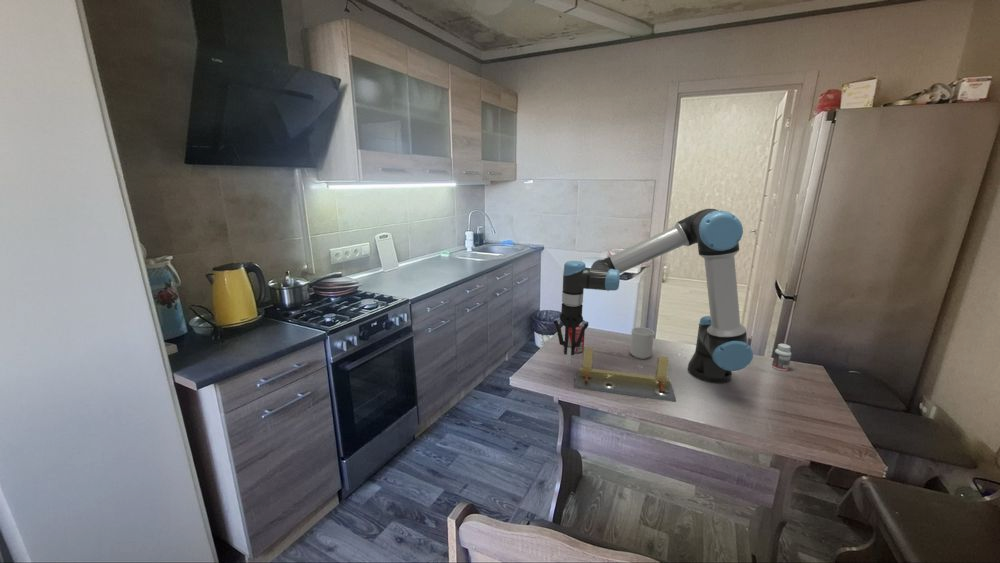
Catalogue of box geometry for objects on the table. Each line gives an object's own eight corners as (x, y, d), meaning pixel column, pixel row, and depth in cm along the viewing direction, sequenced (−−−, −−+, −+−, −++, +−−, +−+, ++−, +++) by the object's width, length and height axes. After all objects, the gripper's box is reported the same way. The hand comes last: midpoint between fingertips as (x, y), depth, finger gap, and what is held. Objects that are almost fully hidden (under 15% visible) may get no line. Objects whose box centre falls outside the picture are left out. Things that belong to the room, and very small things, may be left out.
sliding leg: (591, 372, 149) (593, 347, 146) (590, 382, 141) (592, 356, 138) (582, 371, 149) (584, 346, 147) (581, 381, 142) (583, 355, 139)
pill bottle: (770, 363, 160) (775, 341, 157) (786, 366, 157) (791, 344, 155) (772, 369, 155) (777, 346, 153) (789, 372, 153) (794, 349, 150)
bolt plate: (670, 385, 142) (674, 356, 139) (675, 401, 132) (679, 370, 129) (576, 373, 151) (578, 346, 148) (574, 387, 140) (576, 358, 137)
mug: (648, 361, 161) (651, 336, 158) (627, 356, 166) (629, 332, 163) (655, 351, 171) (657, 327, 168) (634, 346, 175) (636, 323, 173)
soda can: (586, 351, 170) (588, 323, 167) (575, 355, 167) (576, 326, 163) (575, 345, 176) (576, 318, 173) (563, 349, 172) (565, 321, 169)
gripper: (590, 301, 144) (586, 360, 150) (555, 298, 147) (552, 355, 153) (590, 308, 137) (585, 368, 143) (553, 304, 140) (550, 364, 146)
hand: (568, 362), depth 148 cm, fingers closed
